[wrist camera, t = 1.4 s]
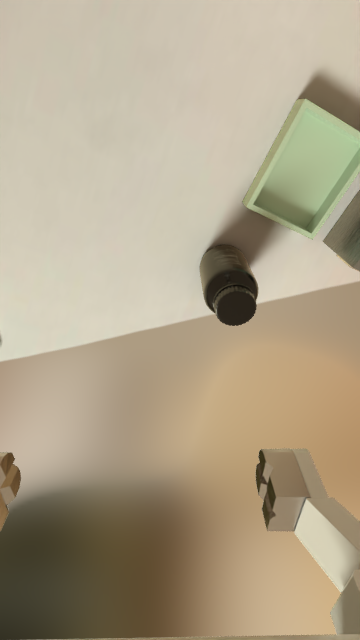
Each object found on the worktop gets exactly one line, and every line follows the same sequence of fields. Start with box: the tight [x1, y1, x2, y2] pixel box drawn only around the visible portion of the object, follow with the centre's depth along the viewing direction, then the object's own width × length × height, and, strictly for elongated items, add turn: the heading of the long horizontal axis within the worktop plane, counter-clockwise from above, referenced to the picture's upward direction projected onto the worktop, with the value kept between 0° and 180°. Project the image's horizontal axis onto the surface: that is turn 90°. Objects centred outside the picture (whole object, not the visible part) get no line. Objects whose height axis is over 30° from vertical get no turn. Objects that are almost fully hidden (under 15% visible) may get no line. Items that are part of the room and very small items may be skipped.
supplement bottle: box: [200, 245, 258, 326], centre depth 41 cm, size 7×7×12 cm
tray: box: [242, 99, 360, 240], centre depth 38 cm, size 12×10×3 cm
